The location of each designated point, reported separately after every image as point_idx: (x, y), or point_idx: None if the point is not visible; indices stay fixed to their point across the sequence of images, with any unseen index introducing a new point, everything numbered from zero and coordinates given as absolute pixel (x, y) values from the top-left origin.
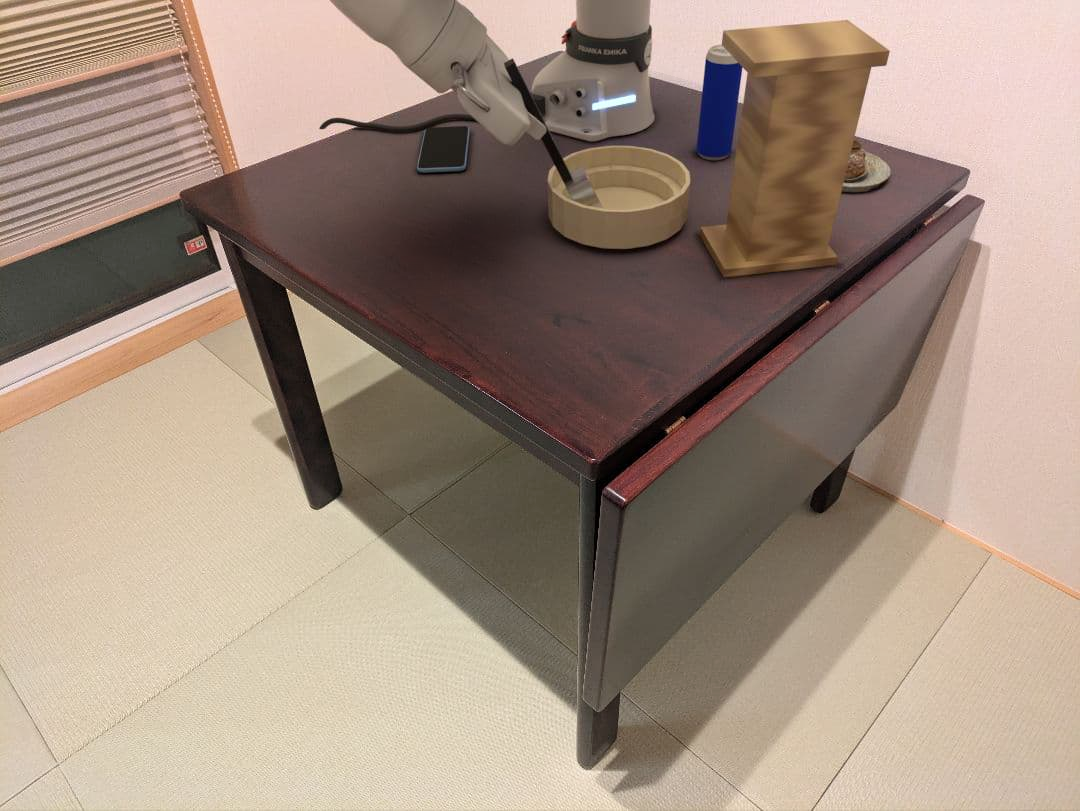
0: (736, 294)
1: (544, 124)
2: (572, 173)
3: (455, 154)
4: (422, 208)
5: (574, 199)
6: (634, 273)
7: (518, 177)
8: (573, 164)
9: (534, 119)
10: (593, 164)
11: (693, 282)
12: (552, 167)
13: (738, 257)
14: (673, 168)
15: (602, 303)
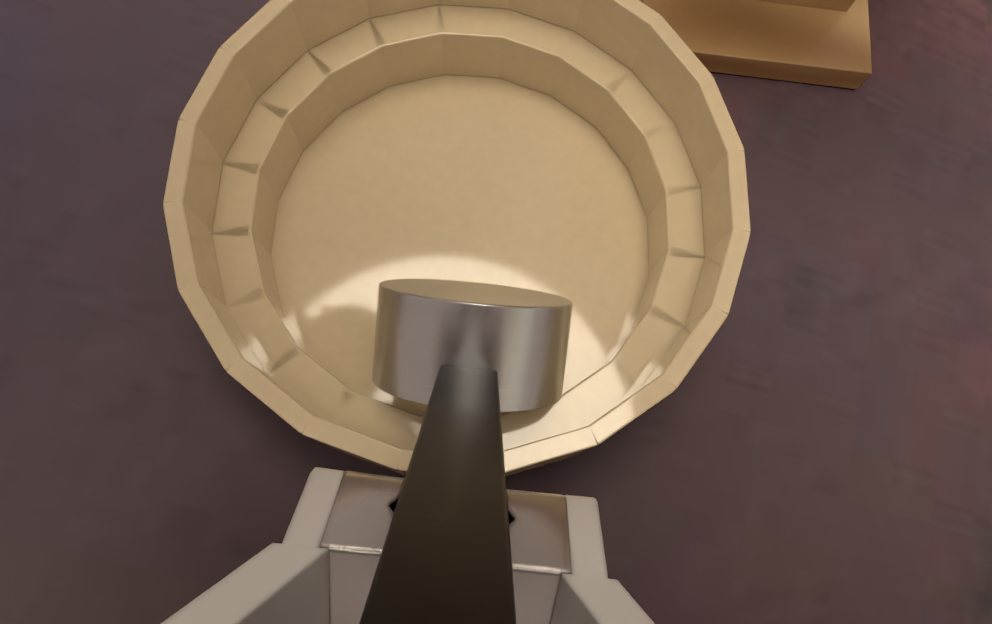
0: (935, 91)
1: (526, 495)
2: (462, 358)
3: None
4: None
5: (559, 392)
6: (794, 301)
7: (10, 507)
8: (216, 302)
9: (640, 612)
10: (208, 220)
11: (865, 167)
12: (279, 413)
13: (821, 20)
14: None
15: (936, 442)
